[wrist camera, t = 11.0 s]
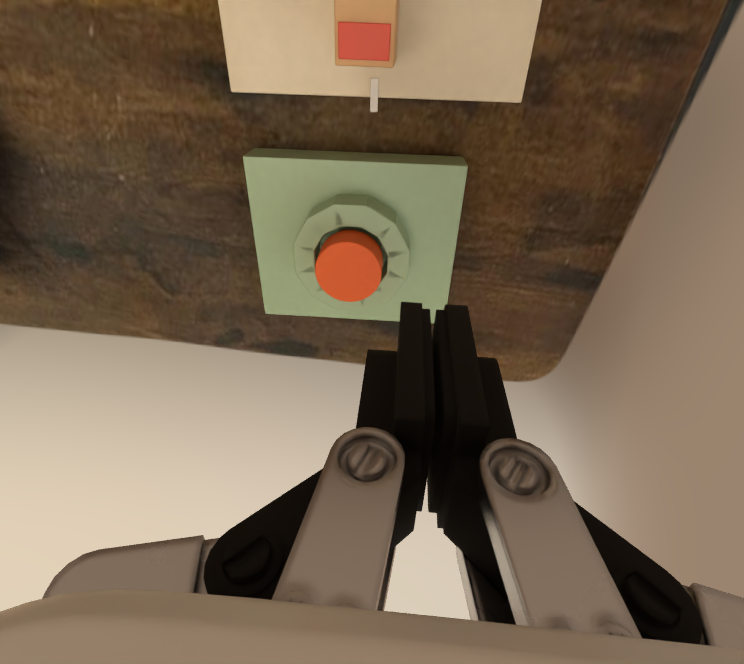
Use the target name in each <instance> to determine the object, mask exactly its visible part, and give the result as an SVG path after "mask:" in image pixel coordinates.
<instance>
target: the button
mask: <svg viewBox="0 0 744 664" xmlns="http://www.w3.org/2000/svg"><path fill="white" fill-rule="evenodd" d="M382 266H383V256H382V252H381V249H380V247H379V245H378V244H377V243H376V241H375V240H374V239H373V238H371V237H370V236H369V235H367V234H365V233H363V232H360V231H357V230H342V231H339V232H336V233H334V234H333V235H331V236H330V237H329V238H328V239H327V240H326V241H325V242H324V244H323V246H322V248H321V250H320V253H319V255H318V258H317V260H316V264H315V275H316V279H317V281H318V283H319V285H320V287H321V288H322V289H323V290H324V291H325V292H326V293H327V294H328V295H330V296H331V297H333V298H335V299H337V300H340V301H345V302H355V301H360V300H363V299H365V298H367V297H369V296H370V295H372V294H373V293H374V292H375V290H376V289H377V288H378V286H379V284H380V281H381V276H382Z"/></svg>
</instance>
